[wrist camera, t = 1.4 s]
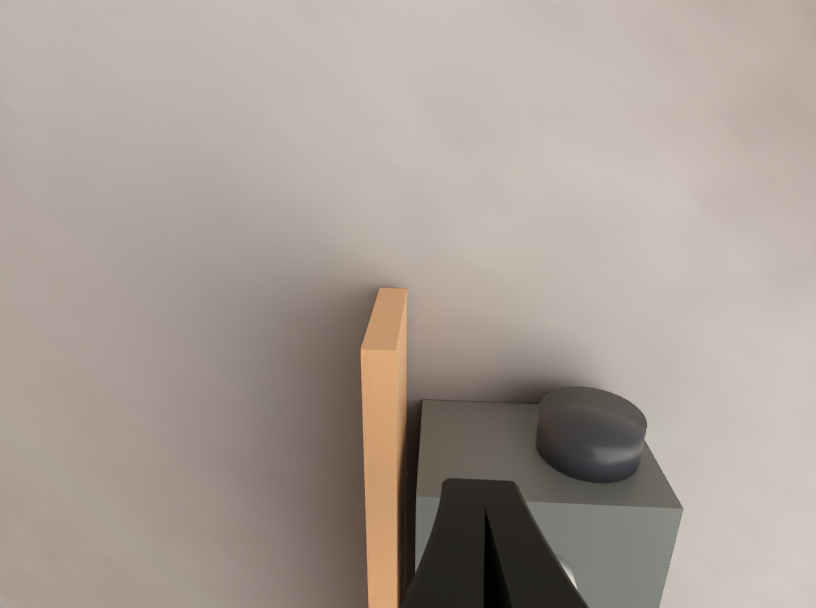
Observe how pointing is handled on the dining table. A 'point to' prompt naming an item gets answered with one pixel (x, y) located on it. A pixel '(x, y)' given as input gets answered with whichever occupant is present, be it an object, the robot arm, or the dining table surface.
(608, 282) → the dining table surface
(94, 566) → the dining table surface
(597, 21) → the dining table surface
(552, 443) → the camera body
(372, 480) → the long wooden block
